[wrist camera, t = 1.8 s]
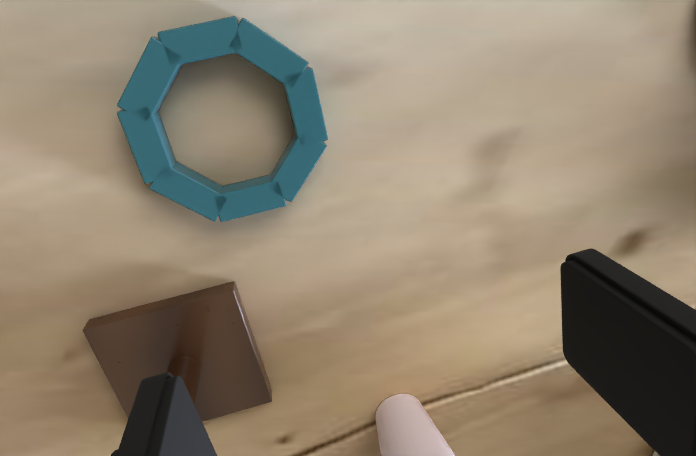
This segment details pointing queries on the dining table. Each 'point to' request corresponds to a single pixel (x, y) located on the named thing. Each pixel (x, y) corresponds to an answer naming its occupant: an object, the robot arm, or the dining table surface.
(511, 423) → the dining table surface
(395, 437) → the smoothie
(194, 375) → the brown peg stand
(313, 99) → the ring
